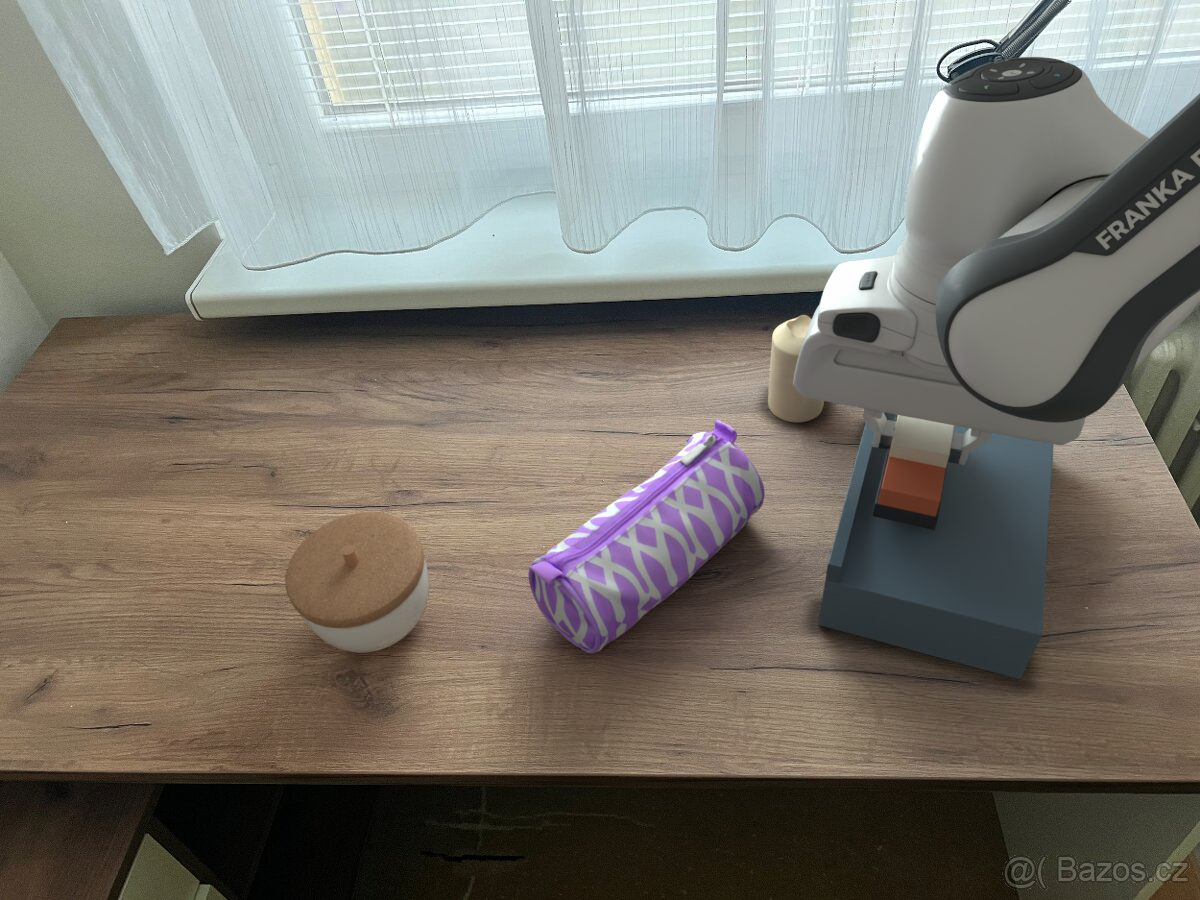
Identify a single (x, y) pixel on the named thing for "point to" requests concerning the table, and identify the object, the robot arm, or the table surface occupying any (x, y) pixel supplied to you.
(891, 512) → the cream and orange block
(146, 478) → the table surface
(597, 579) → the pencil case
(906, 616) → the grey lipped base tray
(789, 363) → the candle
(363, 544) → the trinket box
